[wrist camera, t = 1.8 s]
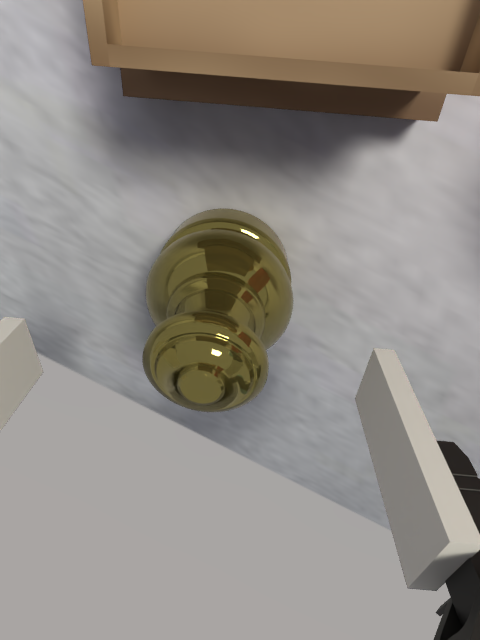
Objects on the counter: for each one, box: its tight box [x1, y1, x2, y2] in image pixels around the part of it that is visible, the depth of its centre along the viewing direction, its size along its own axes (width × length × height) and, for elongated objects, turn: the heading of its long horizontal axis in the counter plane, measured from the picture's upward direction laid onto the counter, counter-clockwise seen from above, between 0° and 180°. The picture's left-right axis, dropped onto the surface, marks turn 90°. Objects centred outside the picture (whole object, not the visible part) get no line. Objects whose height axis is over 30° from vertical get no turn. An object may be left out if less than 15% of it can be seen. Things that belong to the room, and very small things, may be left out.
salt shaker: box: [143, 209, 293, 412], centre depth 17 cm, size 7×7×10 cm
